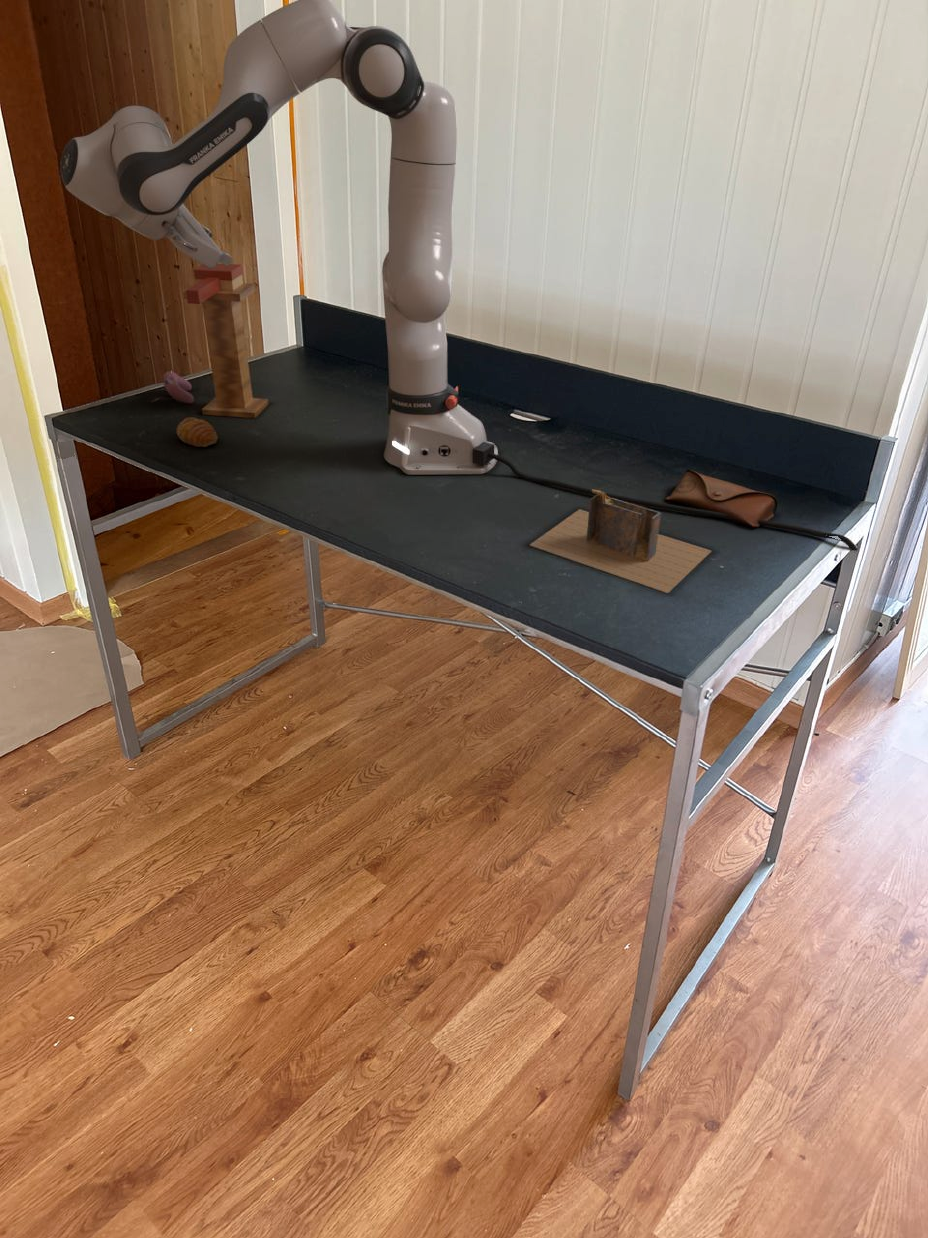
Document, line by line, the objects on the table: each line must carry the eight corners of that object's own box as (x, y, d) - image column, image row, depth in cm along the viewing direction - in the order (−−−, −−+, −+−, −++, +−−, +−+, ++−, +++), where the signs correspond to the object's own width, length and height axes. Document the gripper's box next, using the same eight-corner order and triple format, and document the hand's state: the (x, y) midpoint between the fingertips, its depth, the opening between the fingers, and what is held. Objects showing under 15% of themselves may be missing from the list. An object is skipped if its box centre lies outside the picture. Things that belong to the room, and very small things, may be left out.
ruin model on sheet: (529, 545, 151) (531, 491, 146) (579, 509, 162) (583, 457, 157) (667, 593, 139) (676, 536, 134) (712, 550, 150) (721, 496, 145)
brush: (244, 283, 190) (242, 264, 188) (213, 304, 177) (210, 284, 175) (207, 281, 191) (205, 262, 189) (174, 302, 178) (170, 282, 176)
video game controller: (176, 397, 212) (157, 372, 208) (193, 387, 212) (174, 361, 208) (178, 412, 205) (159, 386, 200) (196, 401, 204) (176, 375, 200)
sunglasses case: (662, 498, 165) (675, 463, 164) (675, 505, 171) (688, 470, 170) (757, 528, 156) (772, 491, 155) (767, 534, 162) (781, 498, 161)
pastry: (227, 442, 187) (224, 424, 184) (198, 452, 183) (194, 434, 180) (202, 430, 192) (199, 412, 190) (173, 439, 188) (170, 421, 186)
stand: (268, 404, 205) (254, 283, 191) (255, 418, 198) (239, 293, 183) (217, 400, 207) (199, 280, 192) (202, 414, 199) (182, 291, 185)
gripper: (185, 222, 150) (251, 261, 161) (142, 169, 160) (207, 208, 171) (166, 255, 152) (232, 291, 163) (125, 200, 162) (190, 237, 173)
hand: (219, 248), depth 167 cm, fingers open, 8 cm apart
